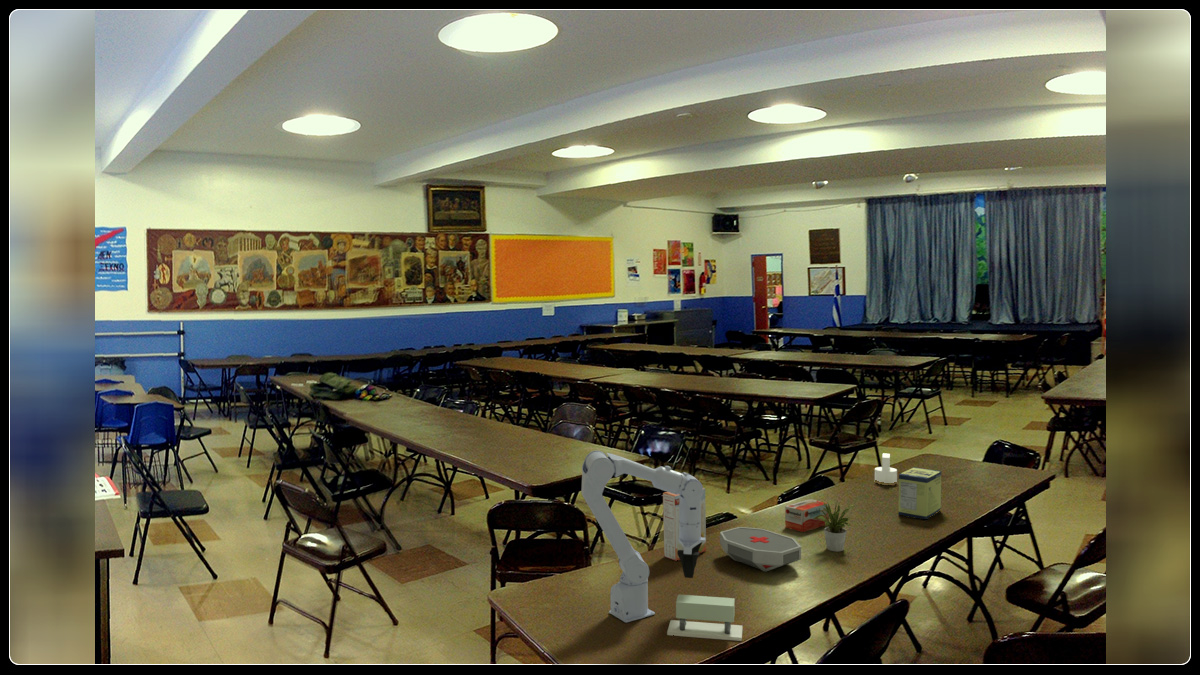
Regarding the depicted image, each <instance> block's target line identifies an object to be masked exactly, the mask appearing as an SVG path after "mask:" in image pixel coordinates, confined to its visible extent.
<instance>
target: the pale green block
mask: <svg viewBox="0 0 1200 675" xmlns="http://www.w3.org/2000/svg"><path fill="white" fill-rule="evenodd" d="M735 599H736V598H734V597H733V598H732V597H720V596H719V597H718V596H705V595H692V594H679V593H678V595H677V597H676V601H675V618H676V619H680V618H682V619H686V620H695V621H710V622H723V623H725V622H731V623H734V622H735V613H736V612H735V608H736V607H735Z"/></svg>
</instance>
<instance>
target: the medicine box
mask: <svg viewBox="0 0 1200 675" xmlns="http://www.w3.org/2000/svg"><path fill="white" fill-rule="evenodd" d="M812 501H813V502H812ZM816 502H817V503H816ZM825 503H826V504H827V503H828V502H825ZM825 503H824V501H821V500H820V501H819V500H816V499H812V498H810V499H805V500H803V501H799V502H796V503H793V504H792V503H791V504H788V505H785V506H784V508H785V509H784V510H785V511H784V512H785V513H784V519H785V520H784V521H785V528H787V529H790V530H793V531H798V532H801V533H806V532H809V531H812V530H815V529H818V528H822V527H825V522H826V521H825V522H824V521H823V519H820V518H818V517H820V516H822V517H824V518H825V519H826V520H827V518H828V520H829V521H830V519H829V518H830V517H828V516H829V515H828V513H827V512H826V511H824V510H823V508H825V509H826V507H825V505H824V504H825ZM819 504H820V505H821V506H822V507H823V508H822V507H821V506H820V505H819ZM828 504H829V503H828ZM828 504H827V506H828ZM820 510H822V511H823V512H824V513H825V514H826V513H827V514H826V516H827V515H828V516H827V518H826V516H825V515H824V514H823V512H822V511H820ZM828 520H827V521H828Z"/></svg>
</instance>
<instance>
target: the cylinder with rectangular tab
mask: <svg viewBox="0 0 1200 675" xmlns="http://www.w3.org/2000/svg"><path fill="white" fill-rule="evenodd" d="M890 465H891V453H888V452H887V453H885V452H883V453H882V456H881V466H877V467H875V468H874V481H875V480H877V481H879V482H884V483H894V482H897V483H898V469H897V468H894V467H891V466H890Z"/></svg>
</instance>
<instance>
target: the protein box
mask: <svg viewBox="0 0 1200 675" xmlns="http://www.w3.org/2000/svg"><path fill="white" fill-rule="evenodd" d="M941 507H942V471H941V470H935V469H927V468H921V467H915V466H914V467H912V468H910V469H907V470H905V471H903V472H901V473H899V474H898V514H897V515H898V516H899V515H904V516H909V517H908V518H910V517H915V518H914V519H916V518H921V519H928V518H929V517H930V516H932V515H934V514H935V513H936V512H938V511H939V510H940V509H942V508H941ZM904 516H903V517H904ZM934 516H935V515H934ZM921 519H920V520H921ZM929 519H930V518H929ZM929 519H928V520H929Z"/></svg>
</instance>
